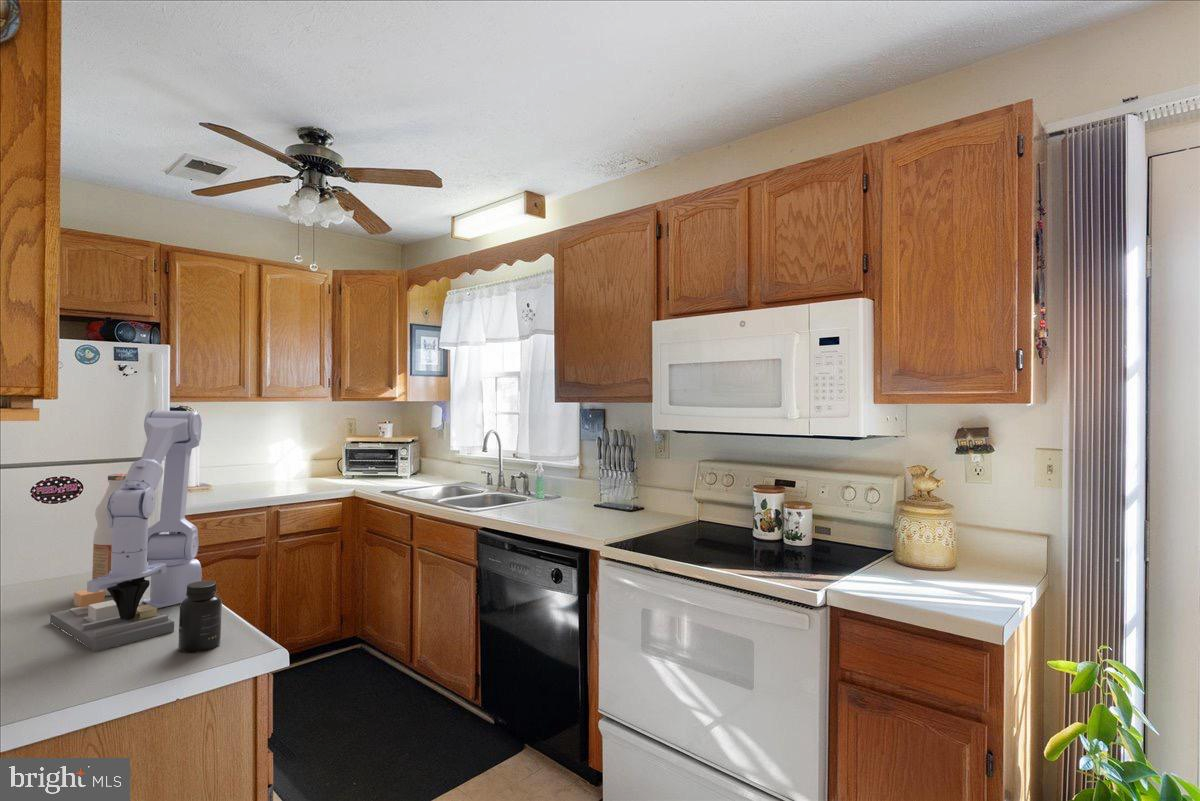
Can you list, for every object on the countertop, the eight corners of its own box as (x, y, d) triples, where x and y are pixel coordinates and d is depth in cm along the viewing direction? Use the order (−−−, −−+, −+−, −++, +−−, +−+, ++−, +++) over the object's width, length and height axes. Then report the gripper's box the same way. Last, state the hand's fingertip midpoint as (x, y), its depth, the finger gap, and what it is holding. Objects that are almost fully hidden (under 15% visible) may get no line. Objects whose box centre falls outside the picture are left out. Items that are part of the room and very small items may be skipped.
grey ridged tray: (125, 607, 139) (125, 593, 139) (174, 631, 126) (174, 616, 126) (50, 623, 129) (50, 608, 129) (95, 651, 115) (95, 635, 115)
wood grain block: (148, 615, 128) (148, 604, 128) (156, 620, 126) (157, 608, 126) (131, 619, 126) (131, 608, 126) (139, 624, 124) (139, 612, 124)
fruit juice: (82, 597, 145) (86, 476, 145) (105, 585, 154) (108, 472, 154) (129, 595, 147) (133, 477, 147) (148, 584, 156) (152, 472, 156)
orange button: (97, 599, 134) (97, 587, 134) (104, 602, 132) (104, 591, 132) (73, 603, 131) (74, 591, 131) (80, 607, 129) (81, 595, 129)
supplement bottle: (169, 650, 117) (171, 586, 117) (203, 637, 123) (205, 576, 123) (195, 656, 115) (197, 590, 115) (229, 643, 121) (231, 581, 121)
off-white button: (111, 612, 130) (112, 600, 130) (119, 616, 128) (120, 603, 128) (88, 617, 126) (88, 604, 126) (95, 621, 124) (96, 609, 124)
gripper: (148, 540, 132) (146, 605, 132) (75, 556, 118) (72, 628, 118) (175, 543, 130) (172, 608, 130) (104, 559, 116) (101, 633, 116)
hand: (127, 618), depth 124 cm, fingers closed
